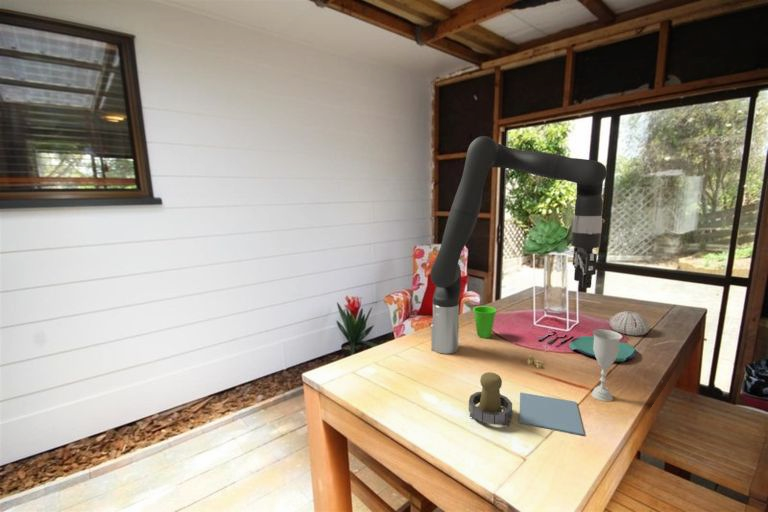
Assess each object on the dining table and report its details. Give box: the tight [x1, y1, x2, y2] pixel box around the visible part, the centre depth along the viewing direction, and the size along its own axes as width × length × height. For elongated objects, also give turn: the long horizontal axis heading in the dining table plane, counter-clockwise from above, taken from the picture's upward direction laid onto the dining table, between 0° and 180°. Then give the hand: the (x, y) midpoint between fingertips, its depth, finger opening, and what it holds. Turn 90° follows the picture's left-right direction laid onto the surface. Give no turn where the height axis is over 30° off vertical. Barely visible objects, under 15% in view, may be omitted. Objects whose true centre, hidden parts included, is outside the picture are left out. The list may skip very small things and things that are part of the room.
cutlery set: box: [537, 332, 637, 363], centre depth 130 cm, size 20×30×2 cm, turn 41°
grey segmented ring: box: [468, 391, 513, 427], centre depth 91 cm, size 10×10×4 cm
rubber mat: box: [518, 392, 585, 437], centre depth 91 cm, size 14×14×1 cm
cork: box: [478, 371, 503, 413], centre depth 90 cm, size 6×6×11 cm
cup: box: [472, 305, 498, 339], centre depth 141 cm, size 9×9×11 cm
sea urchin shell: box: [609, 310, 650, 337], centre depth 143 cm, size 13×14×8 cm
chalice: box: [590, 328, 623, 402], centre depth 97 cm, size 7×7×18 cm
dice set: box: [527, 355, 544, 369], centre depth 118 cm, size 5×5×2 cm
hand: (582, 284), depth 108 cm, fingers open, 8 cm apart
